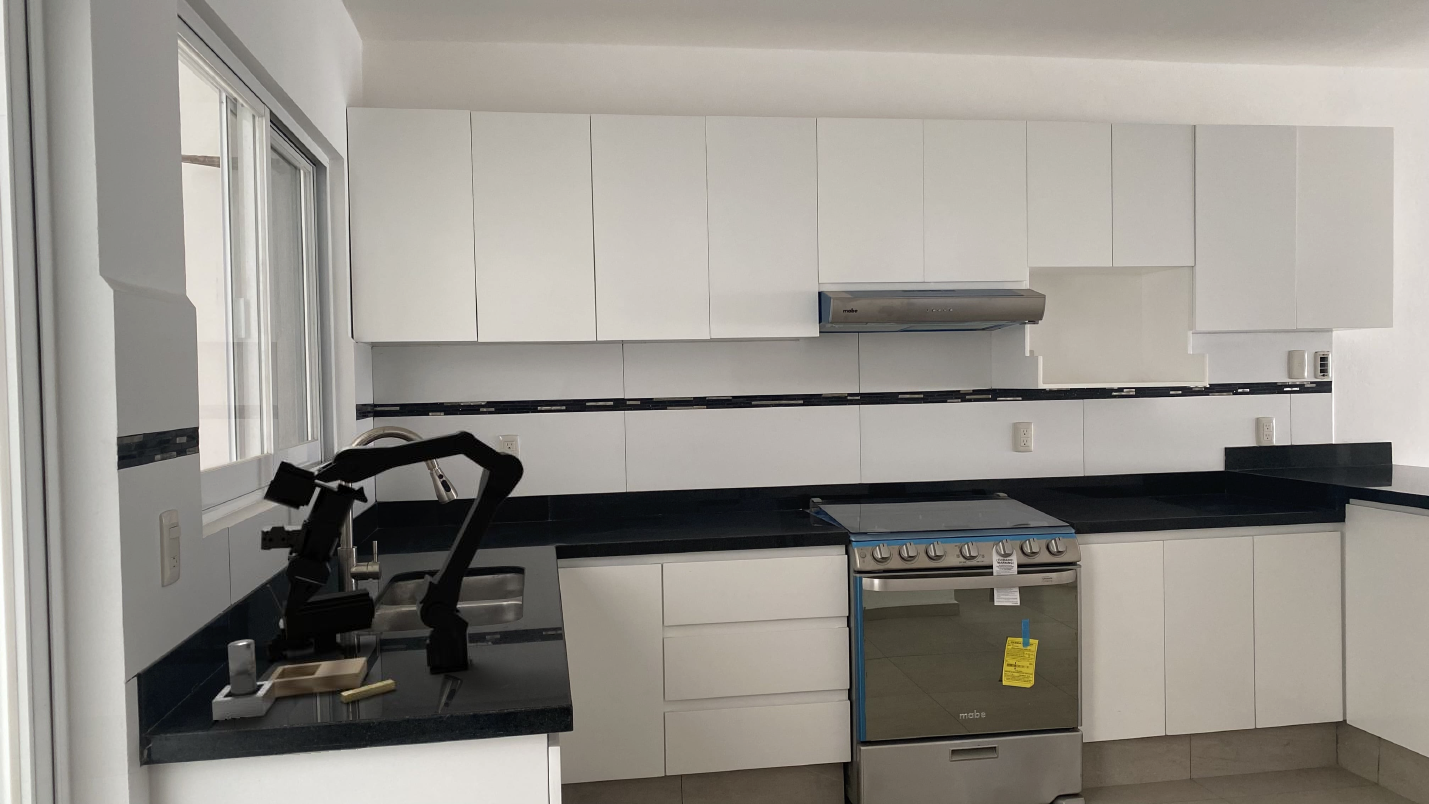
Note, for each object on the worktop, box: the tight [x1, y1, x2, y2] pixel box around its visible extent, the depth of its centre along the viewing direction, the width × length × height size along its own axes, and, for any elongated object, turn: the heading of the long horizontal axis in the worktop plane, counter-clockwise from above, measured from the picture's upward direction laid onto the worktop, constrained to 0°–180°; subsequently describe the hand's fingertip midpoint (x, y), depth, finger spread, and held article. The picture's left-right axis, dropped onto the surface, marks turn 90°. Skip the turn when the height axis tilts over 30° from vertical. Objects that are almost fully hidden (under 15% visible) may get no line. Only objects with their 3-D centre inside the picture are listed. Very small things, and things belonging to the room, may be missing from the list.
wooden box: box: [267, 657, 368, 698], centre depth 150 cm, size 14×8×2 cm, turn 102°
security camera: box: [266, 588, 376, 662], centre depth 169 cm, size 7×18×10 cm, turn 121°
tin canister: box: [227, 639, 258, 697], centre depth 140 cm, size 4×4×10 cm
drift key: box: [340, 679, 396, 704], centre depth 144 cm, size 8×2×1 cm, turn 132°
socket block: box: [211, 680, 277, 722], centre depth 140 cm, size 7×7×3 cm
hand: (288, 610), depth 146 cm, fingers open, 9 cm apart
